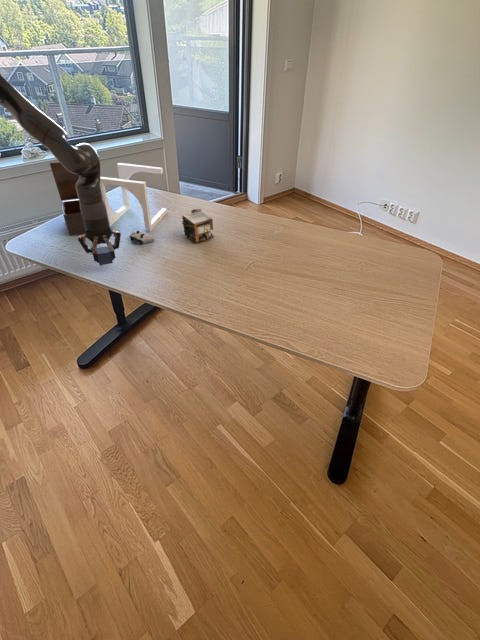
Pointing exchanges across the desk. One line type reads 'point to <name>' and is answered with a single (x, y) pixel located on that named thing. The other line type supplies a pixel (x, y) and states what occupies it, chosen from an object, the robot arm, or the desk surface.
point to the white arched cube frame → (136, 189)
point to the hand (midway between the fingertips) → (105, 260)
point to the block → (104, 255)
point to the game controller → (141, 237)
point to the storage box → (73, 217)
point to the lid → (64, 181)
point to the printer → (197, 225)
